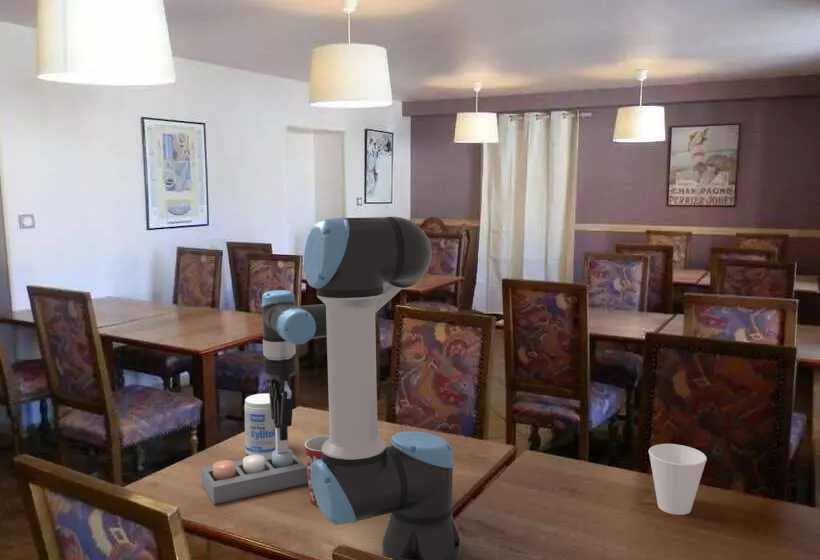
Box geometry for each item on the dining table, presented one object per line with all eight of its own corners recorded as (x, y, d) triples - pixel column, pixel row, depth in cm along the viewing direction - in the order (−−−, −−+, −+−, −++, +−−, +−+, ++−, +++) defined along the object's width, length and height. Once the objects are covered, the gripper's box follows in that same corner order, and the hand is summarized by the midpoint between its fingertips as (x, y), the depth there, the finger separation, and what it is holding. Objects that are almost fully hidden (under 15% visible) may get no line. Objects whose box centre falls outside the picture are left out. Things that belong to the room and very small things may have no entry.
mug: (334, 512, 149) (333, 452, 147) (298, 504, 152) (296, 446, 150) (360, 488, 160) (359, 433, 159) (326, 482, 164) (325, 427, 162)
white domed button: (267, 474, 162) (267, 460, 161) (246, 479, 159) (246, 464, 159) (261, 467, 166) (260, 453, 166) (240, 471, 164) (240, 457, 163)
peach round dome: (238, 480, 158) (237, 466, 158) (216, 485, 156) (215, 470, 155) (232, 472, 163) (231, 458, 162) (211, 477, 160) (210, 462, 160)
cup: (667, 523, 144) (670, 467, 142) (635, 498, 155) (637, 446, 154) (715, 516, 147) (719, 461, 145) (680, 492, 159) (683, 441, 157)
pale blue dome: (296, 467, 165) (295, 453, 165) (276, 472, 163) (275, 458, 162) (289, 460, 169) (288, 447, 169) (269, 464, 167) (268, 450, 167)
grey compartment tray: (307, 483, 163) (307, 467, 163) (213, 504, 153) (213, 487, 152) (290, 465, 174) (289, 450, 173) (201, 483, 163) (200, 467, 162)
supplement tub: (250, 461, 176) (248, 406, 174) (241, 449, 184) (239, 396, 182) (287, 454, 181) (285, 400, 179) (276, 442, 189) (275, 390, 187)
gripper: (304, 360, 158) (306, 457, 162) (285, 348, 170) (287, 439, 173) (273, 364, 155) (275, 464, 158) (255, 352, 166) (258, 445, 169)
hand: (282, 451), depth 166 cm, fingers closed
